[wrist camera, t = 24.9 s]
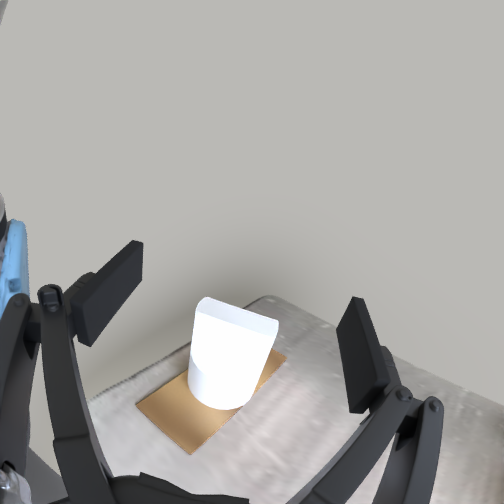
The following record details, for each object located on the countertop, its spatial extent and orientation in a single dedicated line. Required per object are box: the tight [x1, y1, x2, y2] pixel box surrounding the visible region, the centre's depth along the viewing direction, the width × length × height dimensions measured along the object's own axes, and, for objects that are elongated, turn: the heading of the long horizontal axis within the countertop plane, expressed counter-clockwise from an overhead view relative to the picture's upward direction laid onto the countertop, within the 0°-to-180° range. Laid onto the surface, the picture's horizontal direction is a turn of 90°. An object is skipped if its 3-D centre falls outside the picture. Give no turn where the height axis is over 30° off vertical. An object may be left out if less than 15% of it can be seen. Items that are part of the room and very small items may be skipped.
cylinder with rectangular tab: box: [188, 297, 279, 410], centre depth 32 cm, size 9×9×12 cm
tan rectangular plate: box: [136, 348, 287, 455], centre depth 35 cm, size 22×9×1 cm, turn 146°
